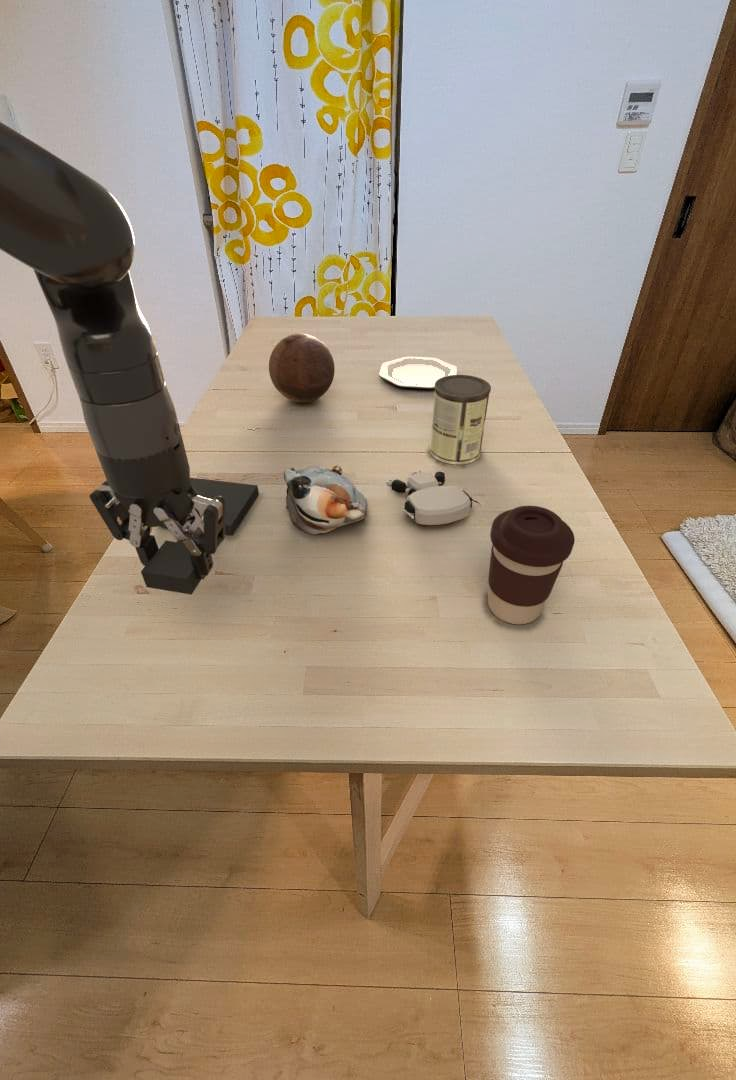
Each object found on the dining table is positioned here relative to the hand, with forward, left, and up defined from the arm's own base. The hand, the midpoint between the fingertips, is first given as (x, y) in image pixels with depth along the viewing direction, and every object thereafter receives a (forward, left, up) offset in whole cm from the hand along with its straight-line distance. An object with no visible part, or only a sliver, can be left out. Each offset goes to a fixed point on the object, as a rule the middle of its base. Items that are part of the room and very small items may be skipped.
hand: (179, 569), depth 58 cm
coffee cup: (+39, +15, -14) cm, 44 cm away
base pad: (-12, +28, -14) cm, 33 cm away
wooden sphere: (-9, +74, -14) cm, 76 cm away
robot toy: (+25, +36, -14) cm, 46 cm away
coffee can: (+28, +56, -14) cm, 64 cm away
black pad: (0, +2, -1) cm, 2 cm away
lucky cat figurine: (+9, +29, -14) cm, 33 cm away
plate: (+16, +93, -14) cm, 95 cm away
